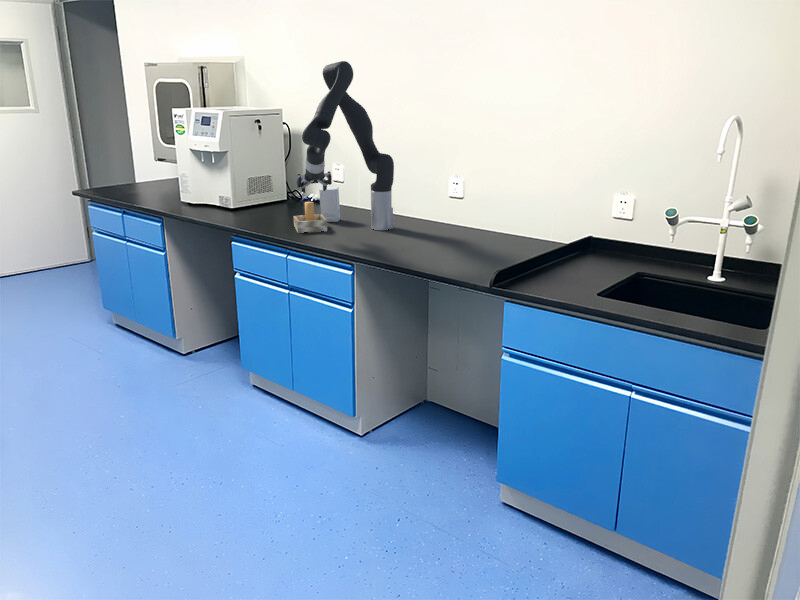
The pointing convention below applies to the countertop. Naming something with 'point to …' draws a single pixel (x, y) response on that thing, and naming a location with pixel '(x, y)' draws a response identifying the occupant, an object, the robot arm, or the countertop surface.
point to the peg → (309, 211)
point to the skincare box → (330, 204)
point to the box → (310, 224)
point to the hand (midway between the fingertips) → (313, 190)
